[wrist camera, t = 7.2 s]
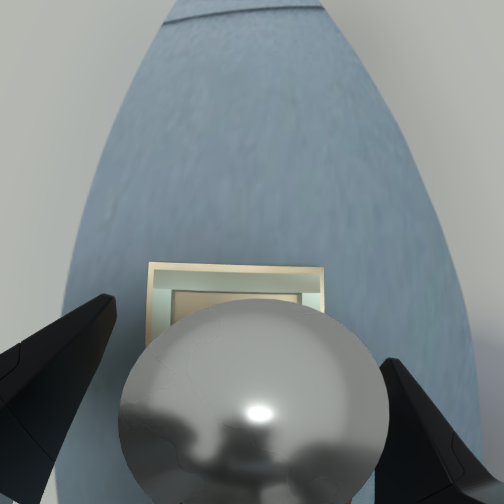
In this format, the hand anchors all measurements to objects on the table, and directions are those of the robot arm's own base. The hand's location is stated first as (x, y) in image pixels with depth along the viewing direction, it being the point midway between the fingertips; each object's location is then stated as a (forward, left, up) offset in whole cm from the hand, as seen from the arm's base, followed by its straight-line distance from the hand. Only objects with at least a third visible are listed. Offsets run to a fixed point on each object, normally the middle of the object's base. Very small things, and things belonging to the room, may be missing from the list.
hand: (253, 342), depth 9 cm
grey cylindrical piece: (-1, 0, -8) cm, 8 cm away
